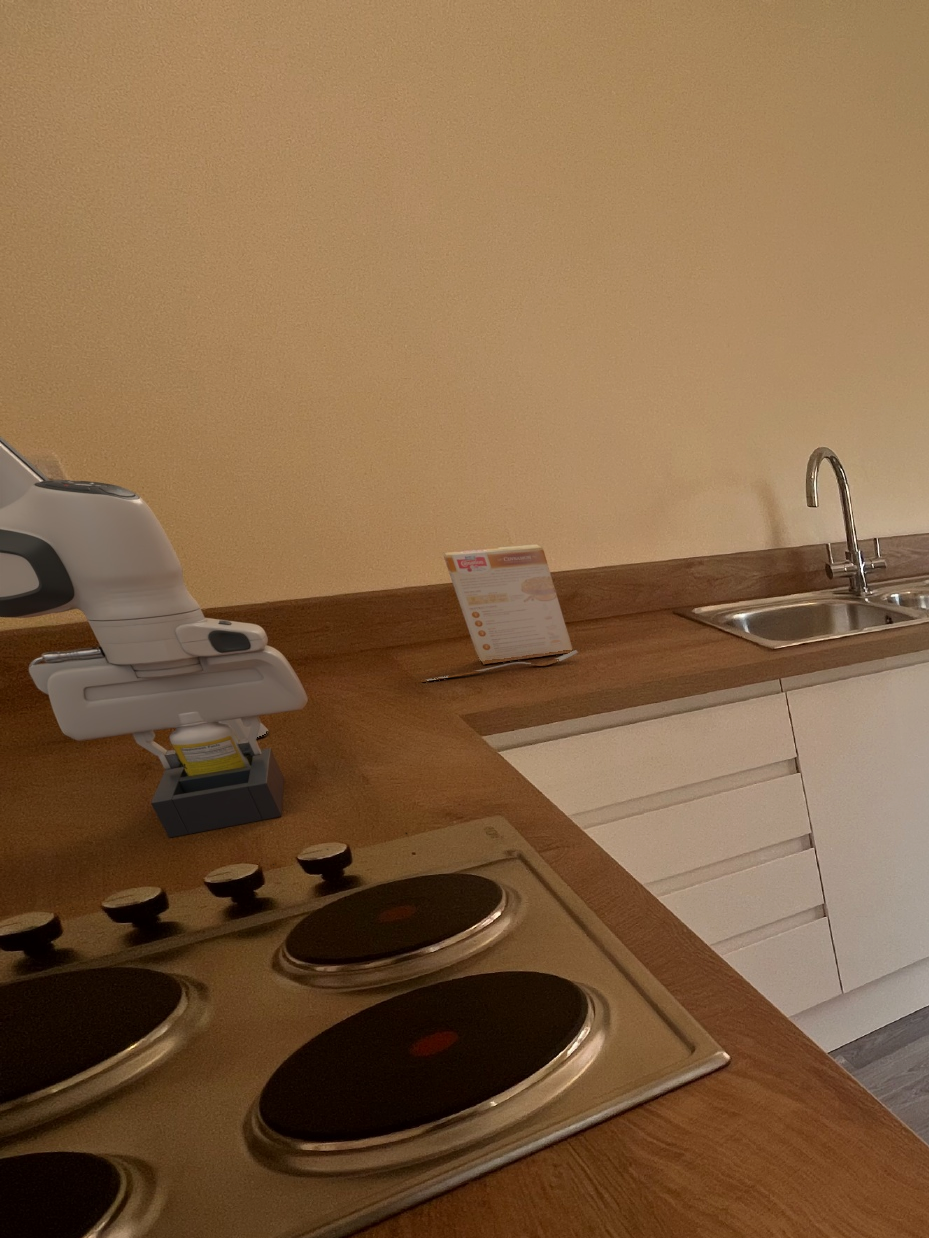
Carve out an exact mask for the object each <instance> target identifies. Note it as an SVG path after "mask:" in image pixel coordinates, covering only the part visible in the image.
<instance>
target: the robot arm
mask: <svg viewBox="0 0 929 1238" xmlns="http://www.w3.org/2000/svg"><path fill="white" fill-rule="evenodd" d="M187 588H188V587H187V586H186V584H185V581H184V572H183V566H182V564H181V562H180V559H179V557H178V555H177V553H176V551H175V549H174V547H173V545H172V543H171V541H170V539H169V537H168V535H167V533H166V531H165V529H164V527H163V526H162V524H161V522H160V520H159V519H158V518H157V516H156V514H155V513H154V511H153V510H152V508H151V507H150V506H149V504H148V503H147V502H146V501H145V500H144V499H143V498H142V497H141V496H140V495H138V494H137V493H136V492H134V491H132V490H130V489H129V488H125V487H122V486H119V485H115V484H111V483H105V482H98V481H88V480H71V479H50V478H48V476H46V475H45V474H44V473H43V472H42V471H41V470H39V469H38V468H37V467H36V466H35V465H34V464H33V463H32V462H30V461H29V460H28V458H26V456H24V455H23V454H22V453H20V452H19V451H18V449H16V448H15V447H14V446H13V445H12V444H10V443H9V442H8V441H7V440H6V439H5V438H4V437H3V436H1V435H0V618H10V619H11V618H14V619H15V618H17V619H27V618H28V619H29V618H36V617H42V616H46V615H51V614H60V613H64V612H69V611H73V610H79V611H80V612H81V613H83V615H84V616H85V618H86V619H87V620H86V621H87V622H88V624H89V626H90V628H91V630H92V631H93V632H92V633H93V634H94V636H95V638H96V640H97V642H98V644H99V646H92V647H83V648H76V649H71V650H66V651H65V650H64V651H63V650H61V651H60V650H55V651H53V650H52V651H47V652H43V653H41V656H39V657H37V658H35V659H33V660H31V661H30V663H29V665H28V674H29V675H30V677H31V679H32V681H33V684H34V685H35V687H36V688H37V689H38V690H39V691H41V692H42V693H44V694H45V695H48V698H49V702H50V705H51V708H52V711H53V714H54V717H55V719H56V721H57V724H58V726H59V728H60V731H61V732H62V734H63V735H65V736H67V737H69V738H70V739H73V740H75V741H78V742H83V741H90V740H99V739H103V738H104V739H105V738H110V737H111V738H112V737H119V736H127V735H132V737H133V739H134V741H135V743H136V744H137V745H139V746H140V747H142V748H143V749H145V750H146V751H148V752H149V753H151V754H153V755H154V756H156V757H158V759H159V761H160V763H161V765H162V767H163V769H164V771H165V770H169V769H174V768H180V767H183V765H182V763H181V761H180V759H179V757H178V756H177V754H176V752H175V750H174V749H172V750H168V749H166V748H165V747H163V746H161V745H160V744H158V743H157V742H155V741H154V739H155V738H156V734H155V732H154V731H160V730H161V731H162V730H167V729H168V730H169V729H176V727H180V726H181V725H182V724H180V722H181V720H180V718H179V716H178V715H179V714H183V713H190V712H198V713H199V715H200V717H201V718H202V719H203V720H204V721H203V722H207V723H211V722H218V721H225V720H232V719H239V718H241V720H242V722H243V725H244V727H250V726H251V729H250V732H249V736H248V739H243V740H239V742H238V744H239V746H240V749H242V750H243V752H242V753H243V755H244V757H250V756H256V755H261V750H262V749H261V747H260V745H259V743H258V741H257V739H258V738H257V735H258V732H259V729H260V725H261V723H262V720H261V719H260V716H267V715H274V714H281V713H288V712H294V711H295V712H297V711H301V710H303V709H305V707H306V705H307V703H308V702H309V697H308V695H307V693H306V690H305V688H304V686H303V684H302V682H301V680H300V678H299V677H298V675H297V673H296V671H295V670H294V668H293V667H292V665H291V663H290V662H289V661H288V659H287V658H286V656H285V655H284V654H283V653H282V652H280V651H279V650H278V649H276V648H275V647H273V646H270V645H268V642H269V638H268V635H267V632H266V631H265V629H264V628H263V627H262V626H260V625H258V624H256V623H250V622H241V621H234V620H226V619H218V618H211V617H205V615H204V613H203V610H202V609H201V606H200V604H199V603H198V601H197V600H196V599H195V598H194V597H193V596H192V594H191V593H190V592H189V590H188V589H187ZM41 662H44V663H41Z"/></svg>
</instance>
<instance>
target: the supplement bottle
mask: <svg viewBox="0 0 929 1238" xmlns="http://www.w3.org/2000/svg"><path fill="white" fill-rule="evenodd" d="M178 716H179V718H180V720H181V722H180V724H182V725H181V726H180V727H176V728H175V730H174V731H172V732H171V733H170V734H169V736H168V737H169V738H168V740H169V741H170V744H171V746H172V748H173V750H175V752H176V754H177V756H178V757H179V759H180V761H181V763H182V765H183V767H184V769H185V771H186V773H187V775H188V776H193V775H199V774H205V773H211V772H217V771H223V770H229V769H235V768H241V767H247V766H250V764H249V762H248V760H247V757H244V755H243V753H242V752H243V750H242V749H240V746H239V744H238V742H239V741H238V739H237V737H236V734H235V732H234V731H233V729H232V728H231V727H230V726H229V725H227V724H224V723H219V722H211V723H207V722H203V721H204V720H203V719H202V718H201V717H200V715H199V713H198V712H190V713H183V714H179V715H178Z"/></svg>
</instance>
